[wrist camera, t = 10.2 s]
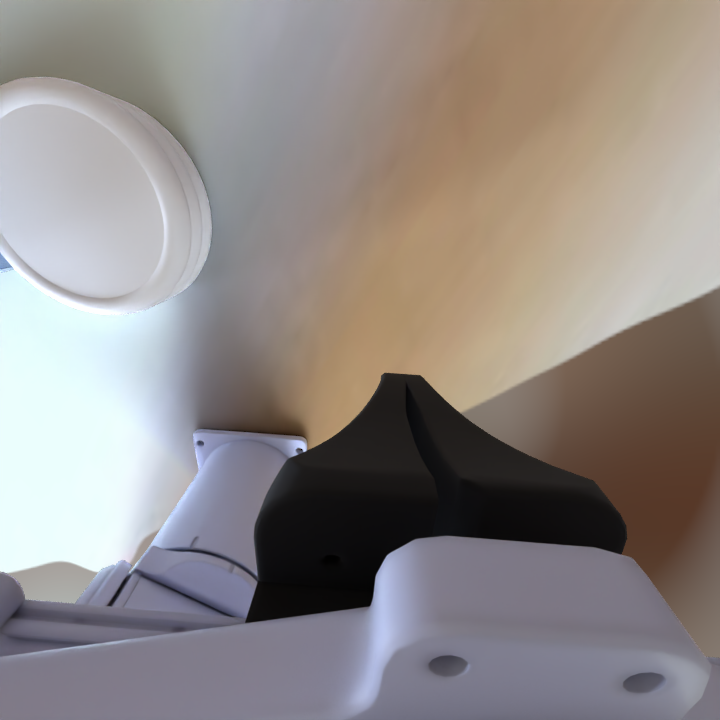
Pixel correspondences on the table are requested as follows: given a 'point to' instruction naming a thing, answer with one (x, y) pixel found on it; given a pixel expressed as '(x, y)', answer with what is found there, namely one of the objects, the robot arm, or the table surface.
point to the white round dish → (97, 198)
